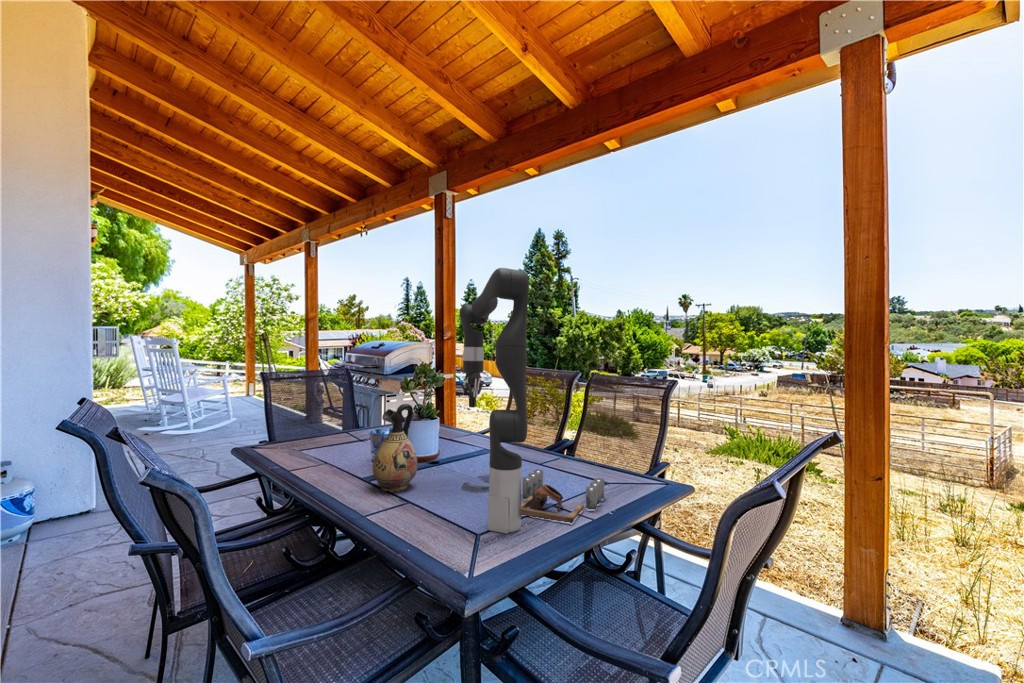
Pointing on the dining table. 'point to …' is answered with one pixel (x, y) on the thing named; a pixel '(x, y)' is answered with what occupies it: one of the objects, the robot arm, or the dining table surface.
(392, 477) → the ceramic jug
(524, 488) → the metal posts
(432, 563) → the dining table surface
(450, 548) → the dining table surface
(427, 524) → the dining table surface
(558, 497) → the pottery mug
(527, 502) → the walnut frame
